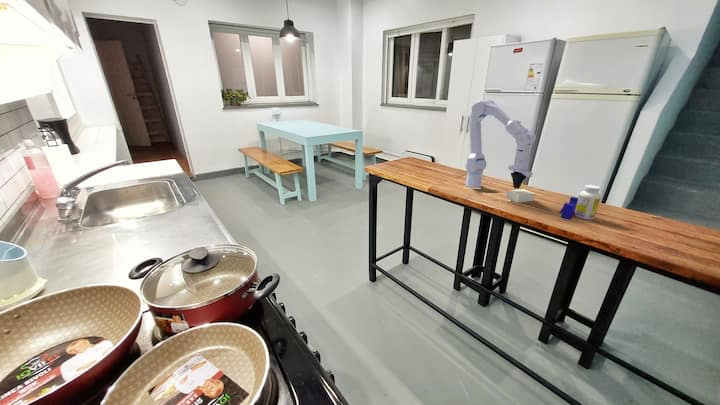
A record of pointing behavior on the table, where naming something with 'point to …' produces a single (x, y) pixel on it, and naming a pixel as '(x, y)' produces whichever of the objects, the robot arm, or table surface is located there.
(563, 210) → the blue l-shaped block
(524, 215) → the table surface
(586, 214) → the supplement bottle
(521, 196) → the card box
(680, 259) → the table surface
